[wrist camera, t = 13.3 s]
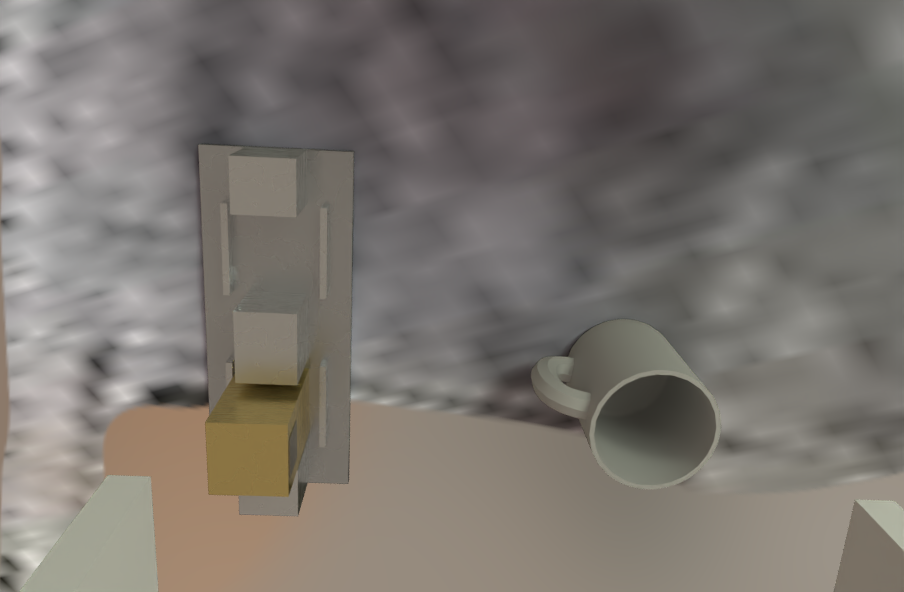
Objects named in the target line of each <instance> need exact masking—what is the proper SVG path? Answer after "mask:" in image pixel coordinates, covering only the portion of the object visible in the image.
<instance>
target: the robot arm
mask: <svg viewBox="0 0 904 592" xmlns="http://www.w3.org/2000/svg"><path fill="white" fill-rule="evenodd" d="M153 519H154V518H153V505H152V490H151V477H148V476H117V475H115V476H114V475H108V476H107V477H106V478H105V480H104V481H103V482H102V484H101V485H100V486H99V488H98V489H97V490H96V492H95V493H94V494H93V495H92V497H91V498H90V499H89V501H88V502H87V503H86V505H85V506H84V507H83V509H82V510H81V511H80V513H79V514H78V515H77V516H76V518H75V519H74V520H73V522H72V523H71V524H70V526H69V527H68V528H67V530H66V531H65V532H64V534H63V535H62V536H61V537H60V539H59V540H58V541H57V543H56V544H55V545H54V547H53V548H52V549H51V551H50V552H49V553H48V555H47V556H46V557H45V558H44V560H43V561H42V562H41V564H40V565H39V566H38V568H37V569H36V570H35V572H34V573H33V574H32V576H31V577H30V578H29V579H28V581H27V582H26V583H25V585H24V586H23V587H22V589H21V590H20V591H19V592H158V578H157V563H156V548H155V534H154V520H153ZM834 592H904V509H902V508H901V507H900V506H899V505H898V504H897V503H896V502H895V501H883V500H855V502H854V506H853V511H852V515H851V519H850V524H849V528H848V532H847V537H846V541H845V545H844V549H843V554H842V558H841V562H840V567H839V571H838V575H837V580H836V584H835V588H834Z"/></svg>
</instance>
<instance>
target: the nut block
mask: <svg viewBox="0 0 904 592" xmlns="http://www.w3.org/2000/svg"><path fill="white" fill-rule="evenodd" d="M205 429H206V449H207V470H208V491H209V495H239V496H275V497H289V494H290V491H291V488H292V485H293V482H294V478H295V475H296V472H297V469H298V466H299V463H300V459H301V456H302V453H303V450H304V447H305V444H306V441H307V437H308V434H309V431H310V417H309V368H304V370H303V372H302V375H301V377H300V380H299V382H298V385H275V384H249V383H235V374H234V376H233V378H232V379H231V381H230V382H229V384H228V386H227V387H226V389H225V391H224V392H223V394H222V396H221V397H220V399H219V401H218V402H217V404H216V406H215V407H214V409H213V411H212V412H211V414H210V415H209V417H208V419H207V420H206V422H205Z"/></svg>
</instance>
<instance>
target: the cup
mask: <svg viewBox="0 0 904 592" xmlns="http://www.w3.org/2000/svg"><path fill="white" fill-rule="evenodd" d="M531 379H532V385H533V388H534V391H535V393H536V394H537V396H538V397H539V399H540V400H541V401H543V402H544V403H545V404H546V405H547V406H549V407H550V408H552V409H554V410H556V411H558V412H560V413H562V414H565V415H568V416H571V417H575V418H579V421H580V423H581V426H582V428H583V431H584V433H585V436H586V438H587V440H588V443H589V445H590V448H591V450H592V452H593V454H594V457H595V459H596V461H597V463H598V465H599V466H600V467H601V468H602V469H603V470H604V471H605V472H606V473H607V475H608V476H610V477H611V478H613V479H615V480H616V481H618V482H620V483H621V484H624V485H627V486H630V487H634V488H637V489H659V488H665V487H671V486H673V485H675V484H678V483H680V482H682V481H685V480H687V479H688V478H690V477H691V476H692V475H694V474H695V473H696V472H698V471H699V470H700V469H701V468H702V467H703V466H704V465H705V464H706V462H707V461H708V460H709V459H710V458H711V456H712V454H713V452H714V450H715V448H716V446H717V444H718V441H719V436H720V431H721V420H720V411H719V409H718V406H717V404H716V401H715V399H714V397H713V396H712V395H711V393H710V392H709V391H708V390H707V388H706V387H705V386H704V385H703V384H702V382H701V381H700V380H699V379H698V378H697V376H696V375H695V374H694V373H693V371H692V370H691V369H690V368H689V367H688V365H687V364H686V363H685V362H684V361H683V359H682V358H681V357H680V356H679V354H678V353H677V352H676V351H675V350H674V348H673V347H672V346H671V345H670V344H669V342H668V341H667V340H666V339H665V337H664V336H663V335H662V334H661V333H660V332H658V331H657V330H655V329H654V328H652V327H651V326H649V325H648V324H645V323H642V322H639V321H636V320H630V319H617V320H611V321H606V322H603V323H601V324H599V325H597V326H594V327H592V328H591V329H590V330H588V331H587V332H586V333H584V334H583V335H582V336H581V337H580V338H579V339H578V340H577V342H576V343H575V344H574V346H573V347H572V348H571V351H570V353H569V356H568V357H559V356H549V357H544V358H542V359H541V360H539V361H538V362H537V364H536V365H535V366H534V367H533V369H532V371H531ZM562 381H563V382H566V385H565V384H564V383H563V382H562Z"/></svg>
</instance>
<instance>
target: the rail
mask: <svg viewBox="0 0 904 592" xmlns="http://www.w3.org/2000/svg"><path fill="white" fill-rule="evenodd" d="M198 149H199V174H200V198H201V222H202V246H203V270H204V294H205V318H206V343H207V367H208V391H209V415H210V414H211V412H212V411H213V409H214V407H215V406H216V404H217V402H218V401H219V399H220V397H221V396H222V394H223V392H224V391H225V389H226V387H227V386H228V384H229V382H230V381H231V379H232V378H233V376H234V374H235V383H249V384H275V385H298V382H299V380H300V377H301V375H302V372H303V370H304V368H309V417H310V431H309V434H308V437H307V441H306V444H305V447H304V450H303V453H302V456H301V459H300V463H299V466H298V469H297V472H296V475H295V478H294V482H293V485H292V488H291V491H290V494H289V497H275V496H239V514H240V515H241V514H242V515H273V516H298V514H299V511H300V507H301V503H302V500H303V497H304V493H305V490H306V486H307V483H308V482H309V483H337V484H338V483H339V484H348V482H349V449H350V448H349V447H350V389H351V328H352V266H353V205H354V151H341V150H321V149H301V148H281V147H261V146H241V145H221V144H199V145H198Z"/></svg>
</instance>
